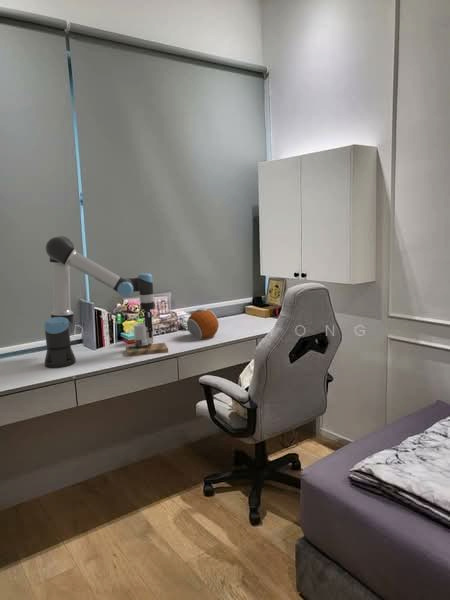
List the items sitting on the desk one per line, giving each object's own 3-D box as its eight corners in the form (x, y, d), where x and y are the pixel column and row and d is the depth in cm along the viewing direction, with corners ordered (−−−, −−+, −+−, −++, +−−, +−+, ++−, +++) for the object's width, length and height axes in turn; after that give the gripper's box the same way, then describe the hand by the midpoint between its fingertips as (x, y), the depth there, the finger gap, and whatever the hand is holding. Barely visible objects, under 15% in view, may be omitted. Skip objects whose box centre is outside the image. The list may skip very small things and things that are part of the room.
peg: (128, 349, 261) (127, 333, 259) (128, 347, 264) (126, 332, 262) (152, 346, 264) (151, 331, 262) (151, 345, 267) (150, 330, 265)
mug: (137, 345, 277) (136, 326, 275) (132, 342, 284) (131, 324, 282) (157, 342, 282) (156, 324, 280) (151, 339, 290) (150, 321, 288)
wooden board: (127, 356, 255) (127, 352, 255) (125, 350, 267) (125, 346, 267) (168, 351, 261) (167, 348, 260) (164, 346, 273) (164, 342, 273)
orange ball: (224, 336, 290) (223, 308, 287) (200, 342, 279) (199, 313, 277) (206, 331, 305) (205, 305, 302) (183, 336, 295) (181, 308, 292)
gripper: (156, 304, 251) (158, 345, 254) (151, 298, 273) (153, 335, 277) (142, 305, 249) (144, 346, 253) (138, 299, 271) (140, 336, 275)
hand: (149, 340), depth 265 cm, fingers open, 11 cm apart
